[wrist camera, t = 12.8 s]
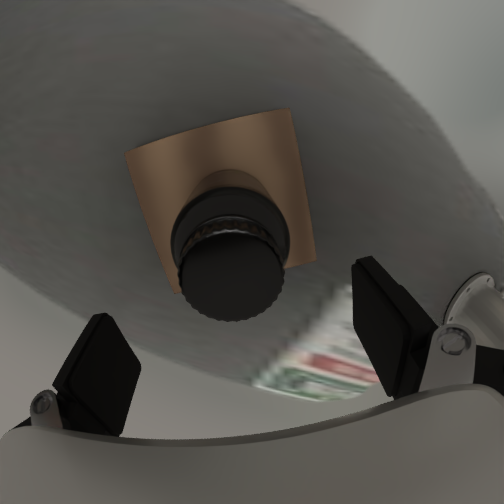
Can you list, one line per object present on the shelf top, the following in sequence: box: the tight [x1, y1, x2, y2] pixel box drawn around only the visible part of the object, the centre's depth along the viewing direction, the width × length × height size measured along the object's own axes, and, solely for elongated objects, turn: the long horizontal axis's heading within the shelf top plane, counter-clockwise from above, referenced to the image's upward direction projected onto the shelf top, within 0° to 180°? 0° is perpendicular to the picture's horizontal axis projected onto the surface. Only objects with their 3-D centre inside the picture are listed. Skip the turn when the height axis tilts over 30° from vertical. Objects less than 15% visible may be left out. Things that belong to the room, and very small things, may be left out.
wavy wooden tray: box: [124, 108, 317, 294], centre depth 24 cm, size 14×14×3 cm
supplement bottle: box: [170, 169, 290, 322], centre depth 17 cm, size 7×7×12 cm
